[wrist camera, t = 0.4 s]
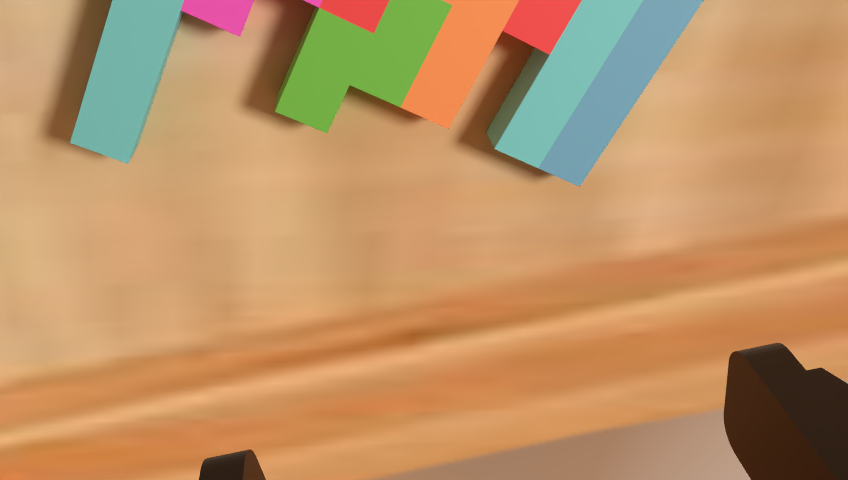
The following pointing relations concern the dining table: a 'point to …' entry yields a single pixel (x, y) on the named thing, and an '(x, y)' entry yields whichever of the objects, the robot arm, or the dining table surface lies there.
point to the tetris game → (414, 67)
